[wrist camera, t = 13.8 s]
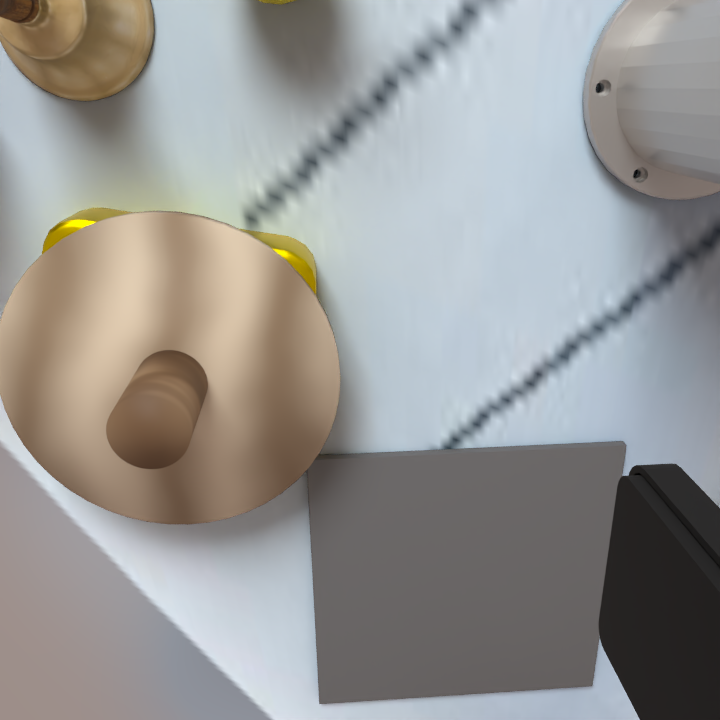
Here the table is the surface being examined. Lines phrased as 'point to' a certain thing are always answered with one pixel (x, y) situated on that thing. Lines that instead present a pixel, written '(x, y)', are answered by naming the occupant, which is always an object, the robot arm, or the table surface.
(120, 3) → the hand bell
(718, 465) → the table surface
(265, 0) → the lemon
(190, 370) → the lid
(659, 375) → the table surface
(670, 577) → the robot arm
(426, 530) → the mat
